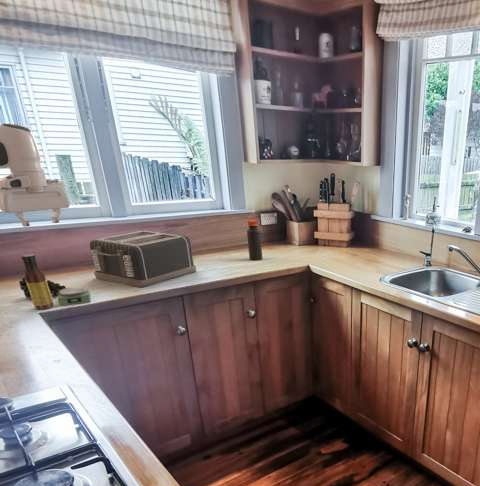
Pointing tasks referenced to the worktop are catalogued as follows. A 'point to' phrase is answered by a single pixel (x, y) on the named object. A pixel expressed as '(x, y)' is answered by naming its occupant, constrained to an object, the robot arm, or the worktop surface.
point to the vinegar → (254, 241)
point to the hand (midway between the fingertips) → (41, 224)
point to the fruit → (52, 286)
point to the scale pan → (73, 291)
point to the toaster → (142, 258)
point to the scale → (75, 298)
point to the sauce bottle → (37, 283)
